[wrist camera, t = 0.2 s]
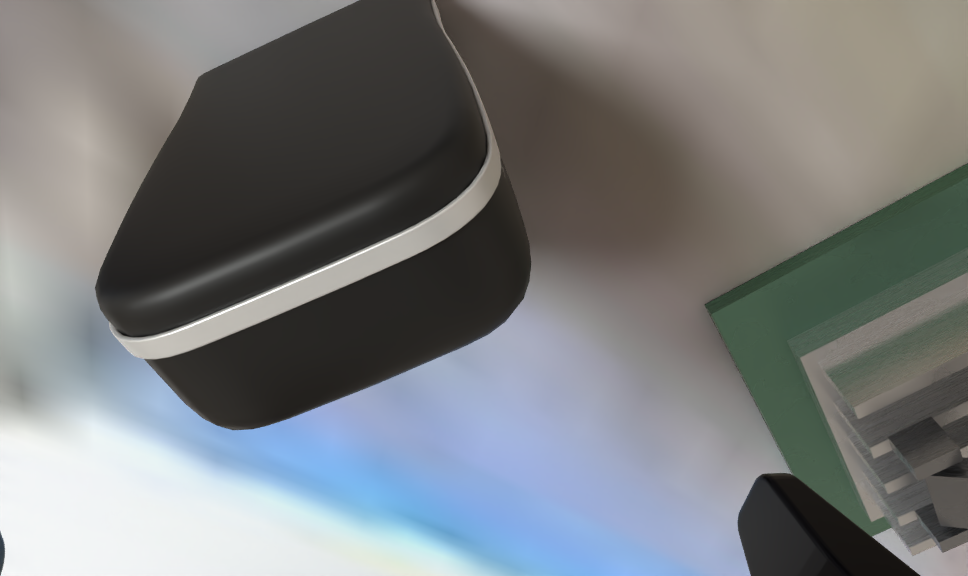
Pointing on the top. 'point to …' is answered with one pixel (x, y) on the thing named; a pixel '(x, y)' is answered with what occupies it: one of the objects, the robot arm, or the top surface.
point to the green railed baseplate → (866, 360)
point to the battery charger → (318, 221)
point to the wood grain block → (950, 494)
